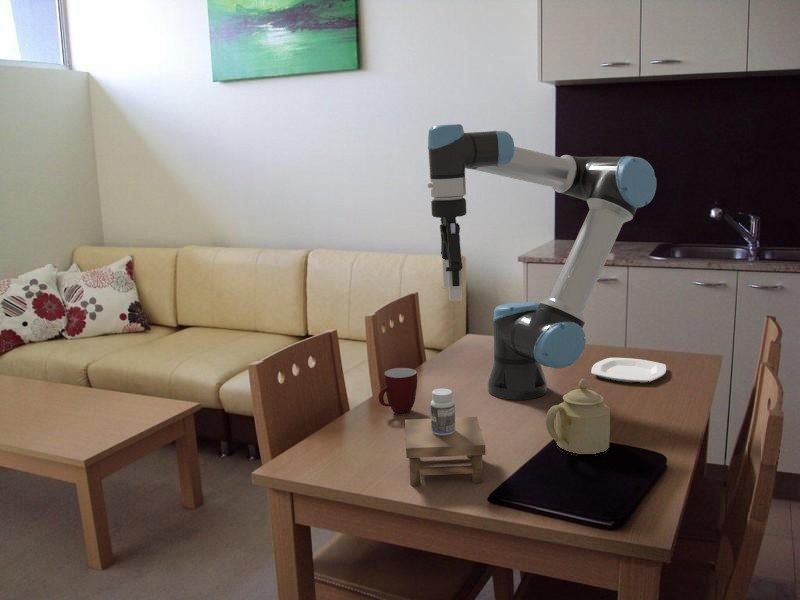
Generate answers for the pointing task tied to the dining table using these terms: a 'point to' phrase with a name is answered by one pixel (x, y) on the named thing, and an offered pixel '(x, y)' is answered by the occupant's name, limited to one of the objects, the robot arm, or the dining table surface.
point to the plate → (629, 369)
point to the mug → (399, 389)
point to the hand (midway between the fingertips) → (452, 294)
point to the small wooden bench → (444, 448)
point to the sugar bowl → (580, 422)
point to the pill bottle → (442, 412)
